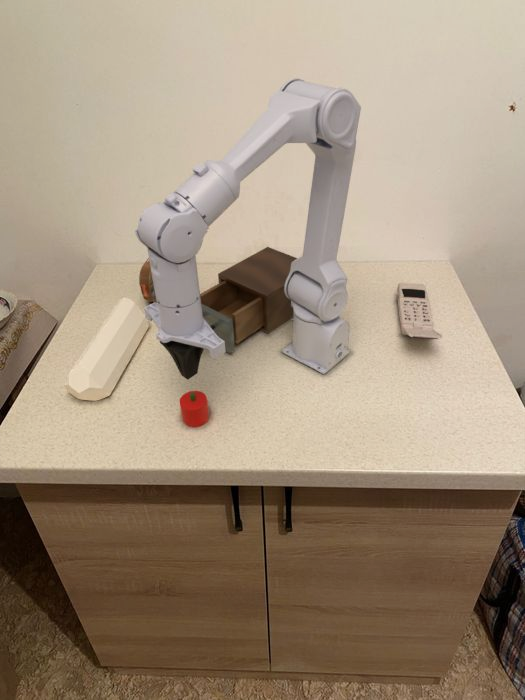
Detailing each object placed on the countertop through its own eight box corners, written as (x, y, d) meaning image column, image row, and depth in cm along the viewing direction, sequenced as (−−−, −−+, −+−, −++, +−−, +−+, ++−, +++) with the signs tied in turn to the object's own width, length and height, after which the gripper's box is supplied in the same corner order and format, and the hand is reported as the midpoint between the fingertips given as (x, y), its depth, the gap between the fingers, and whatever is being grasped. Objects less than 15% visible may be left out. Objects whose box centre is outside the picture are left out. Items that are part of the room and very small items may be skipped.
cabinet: (267, 334, 96) (266, 296, 90) (221, 310, 102) (217, 273, 97) (314, 302, 104) (315, 265, 99) (268, 282, 111) (267, 246, 106)
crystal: (104, 302, 98) (44, 385, 80) (131, 289, 95) (75, 371, 77) (128, 330, 102) (76, 415, 84) (155, 318, 99) (107, 403, 80)
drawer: (211, 366, 87) (207, 335, 83) (168, 340, 93) (163, 310, 89) (278, 320, 98) (278, 290, 94) (236, 299, 104) (234, 270, 100)
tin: (155, 310, 103) (149, 274, 98) (141, 308, 104) (134, 272, 99) (179, 273, 115) (175, 239, 110) (166, 272, 115) (161, 238, 110)
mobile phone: (407, 335, 85) (398, 262, 104) (401, 362, 89) (394, 287, 108) (444, 338, 84) (428, 264, 103) (436, 365, 88) (423, 289, 107)
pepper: (214, 416, 79) (212, 393, 76) (195, 431, 77) (191, 408, 74) (196, 404, 81) (193, 381, 78) (177, 418, 79) (172, 395, 76)
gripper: (120, 289, 67) (137, 367, 76) (192, 331, 60) (203, 412, 68) (161, 269, 72) (173, 345, 80) (234, 306, 64) (239, 385, 72)
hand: (189, 374), depth 74 cm, fingers closed
